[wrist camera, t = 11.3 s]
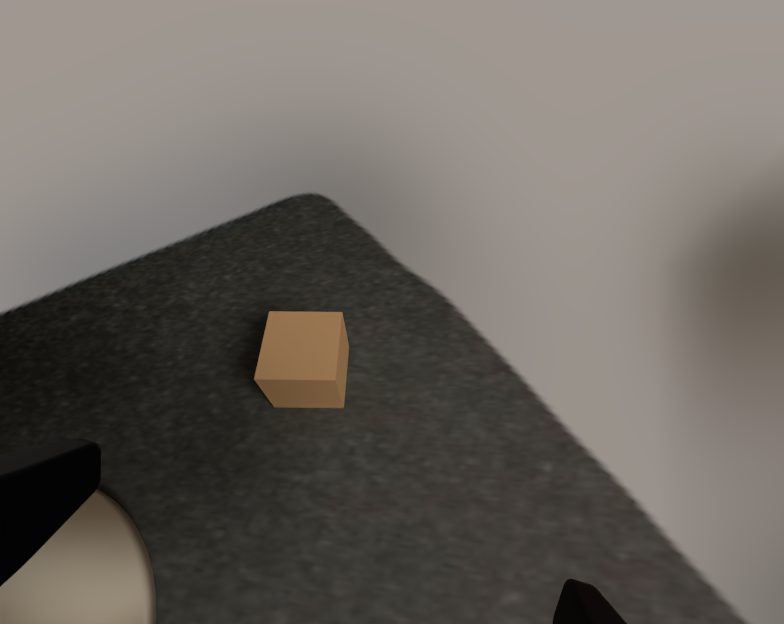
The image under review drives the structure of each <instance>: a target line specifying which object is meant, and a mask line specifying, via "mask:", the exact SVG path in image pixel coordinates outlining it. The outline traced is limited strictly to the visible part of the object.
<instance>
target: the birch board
mask: <svg viewBox="0 0 784 624" xmlns="http://www.w3.org/2000/svg"><path fill="white" fill-rule="evenodd" d="M0 624H156V592H155V583H154V575H153V569H152V566H151V562H150V558H149V554H148V550H147V548H146V545H145V543H144V541H143V538H142V536H141V534H140V532H139V530H138V528H137V527H136V525H135V524H134V522H133V521H132V519H131V518H130V516H129V515H128V513H127V512H126V511H125V510H124V509H123V508H122V507H121V506H120V505H119V504H118V503H117V502H116V501H115V500H113V499H112V498H110V497H109V496H107V495H106V494H105V493H103V492H102V491H100V490H98V489H96V491H95V492H94V493H93V494H92V495H91V497H90V498H89V499H88V500H87V501H86V502H85V503H84V504H83V505H82V506H81V507H80V508H79V509H78V510H77V511H76V512H75V513H74V514H73V515H72V516H71V517H70V518H69V519H68V520H67V521H66V522H65V523H64V524H63V525H62V527H61V528H60V529H59V530H58V531H57V532H56V533H55V534H54V535H53V536H52V537H51V538H50V539H49V540H48V541H47V542H46V543H45V544H44V545H43V546H42V547H41V548H40V549H39V550H38V551H37V552H36V553H35V554H34V555H33V556H32V557H31V558H30V559H29V560H28V561H27V562H26V563H25V564H24V565H23V566H22V567H21V568H20V569H19V570H18V571H17V572H16V573H15V574H14V575H13V576H12V577H11V578H10V579H8V580H7V581H6V582H5V583H4V584H3V585H2V586H1V587H0Z"/></svg>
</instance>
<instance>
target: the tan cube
mask: <svg viewBox="0 0 784 624" xmlns="http://www.w3.org/2000/svg"><path fill="white" fill-rule="evenodd" d="M348 352H349V344H348V339H347V334H346V329H345V324H344V319H343V313H342V312H280V311H269V315H268V319H267V324H266V328H265V332H264V337H263V341H262V346H261V350H260V355H259V359H258V364H257V368H256V373H255V377H254V380H255V381H256V383H257V384H258V385H259V387H260V388H261V390H262V391H263V392H264V394H265V395H266V397H267V398H268V399H269V401H270V402H271V403H272V405H273V406H274V407H298V408H344V399H345V388H346V376H347V364H348Z"/></svg>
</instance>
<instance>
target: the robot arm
mask: <svg viewBox="0 0 784 624" xmlns="http://www.w3.org/2000/svg"><path fill="white" fill-rule="evenodd" d="M100 479H101V448H100V446H99V445H98V444H97V443H94V442H91V441H87V440H84V439H73V440H68V441H63V442H59V443H54V444H49V445H44V446H40V447H35V448H30V449H26V450H21V451H16V452H12V453H7V454H2V455H0V587H1V586H2V585H3V584H4V583H5V582H6V581H7V580H8V579H10V578H11V577H12V576H13V575H14V574H15V573H16V572H17V571H18V570H19V569H20V568H21V567H22V566H23V565H24V564H25V563H26V562H27V561H28V560H29V559H30V558H31V557H32V556H33V555H34V554H35V553H36V552H37V551H38V550H39V549H40V548H41V547H42V546H43V545H44V544H45V543H46V542H47V541H48V540H49V539H50V538H51V537H52V536H53V535H54V534H55V533H56V532H57V531H58V530H59V529H60V528H61V527H62V525H63V524H64V523H65V522H66V521H67V520H68V519H69V518H70V517H71V516H72V515H73V514H74V513H75V512H76V511H77V510H78V509H79V508H80V507H81V506H82V505H83V504H84V503H85V502H86V501H87V500H88V499H89V498H90V497H91V495H92V494H93V493H94V492H95V491H96V489H97V488H98V486H99V483H100ZM553 624H627V623H626V622H625V621H624V620H623V618H622V617H621V616H620V615H619V614H618V613H617V612H616V610H615V609H614V608H613V607H612V606H611V605H610V603H609V602H608V601H607V600H606V599H605V598H604V596H603V595H602V594H601V593H600V592H599V591H598V590H597V589H596V588H595V587H594V586H593V585H591V584H588V583H585V582H581V581H578V580H574V579H568V580H567V581H566V582H565V584H564V586H563V589H562V592H561V595H560V598H559V601H558V604H557V607H556V610H555V614H554V617H553Z"/></svg>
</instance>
